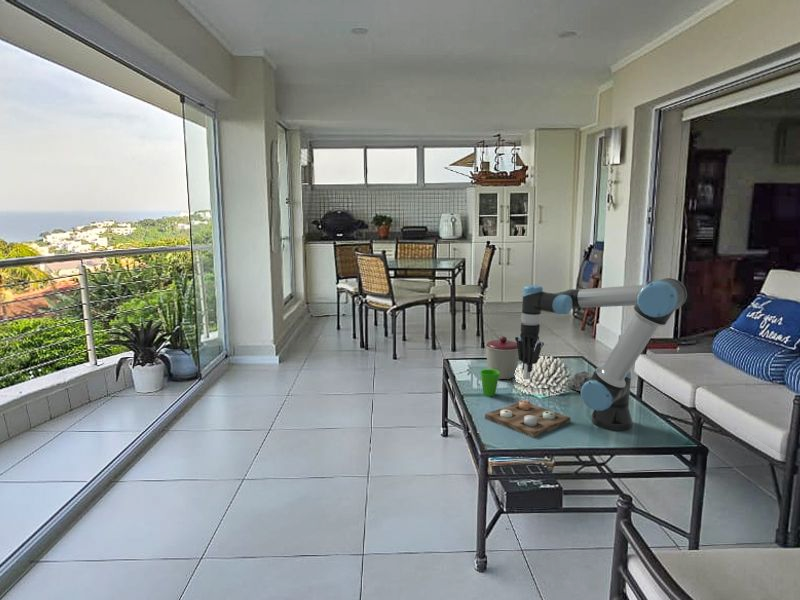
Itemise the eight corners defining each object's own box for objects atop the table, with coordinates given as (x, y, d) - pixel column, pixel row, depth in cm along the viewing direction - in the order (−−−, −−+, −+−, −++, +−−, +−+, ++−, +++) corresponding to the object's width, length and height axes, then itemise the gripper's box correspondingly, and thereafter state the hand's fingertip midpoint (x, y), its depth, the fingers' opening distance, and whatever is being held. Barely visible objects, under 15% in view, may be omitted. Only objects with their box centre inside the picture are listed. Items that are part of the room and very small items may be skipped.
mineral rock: (564, 387, 262) (565, 367, 260) (585, 386, 264) (586, 366, 262) (577, 396, 249) (579, 375, 248) (599, 394, 251) (600, 373, 250)
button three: (532, 409, 228) (533, 402, 227) (525, 411, 225) (526, 404, 224) (523, 406, 231) (524, 398, 231) (516, 408, 228) (516, 401, 228)
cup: (500, 398, 245) (501, 375, 243) (480, 398, 245) (481, 374, 244) (497, 391, 254) (498, 369, 252) (478, 391, 254) (478, 368, 253)
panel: (570, 422, 218) (570, 417, 218) (533, 437, 203) (533, 432, 203) (522, 405, 237) (522, 401, 236) (484, 418, 222) (485, 413, 221)
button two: (557, 420, 219) (557, 413, 218) (550, 423, 216) (550, 416, 215) (547, 417, 223) (547, 409, 222) (540, 420, 220) (540, 412, 219)
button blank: (539, 425, 211) (539, 417, 211) (531, 428, 208) (531, 420, 208) (529, 421, 215) (529, 414, 214) (521, 424, 212) (521, 417, 211)
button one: (514, 419, 221) (514, 411, 220) (506, 421, 218) (507, 414, 217) (505, 415, 224) (505, 408, 224) (497, 418, 221) (497, 410, 221)
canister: (479, 372, 284) (480, 333, 280) (511, 370, 287) (513, 331, 284) (490, 383, 266) (492, 341, 263) (525, 381, 270) (527, 340, 266)
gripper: (549, 325, 219) (545, 381, 223) (523, 319, 229) (519, 372, 233) (538, 327, 214) (534, 384, 218) (511, 321, 224) (508, 376, 228)
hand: (526, 378), depth 226 cm, fingers closed
